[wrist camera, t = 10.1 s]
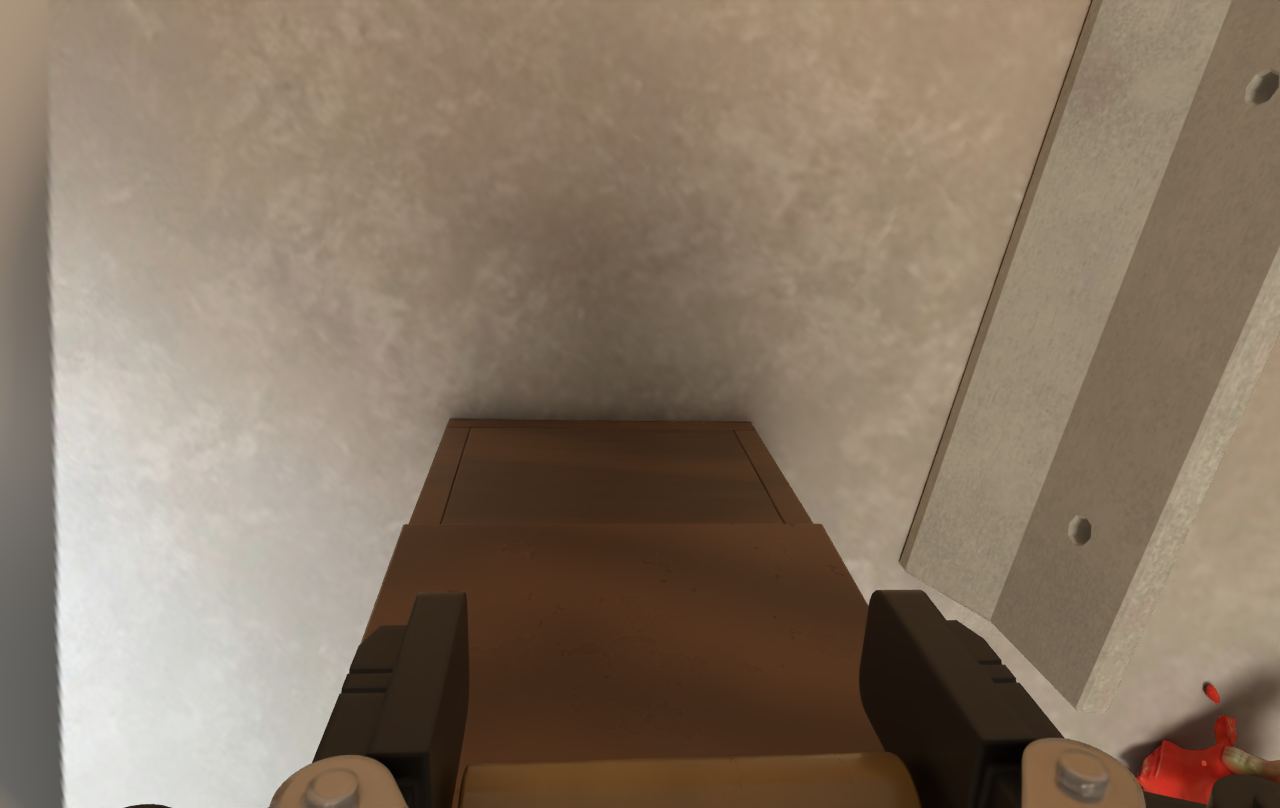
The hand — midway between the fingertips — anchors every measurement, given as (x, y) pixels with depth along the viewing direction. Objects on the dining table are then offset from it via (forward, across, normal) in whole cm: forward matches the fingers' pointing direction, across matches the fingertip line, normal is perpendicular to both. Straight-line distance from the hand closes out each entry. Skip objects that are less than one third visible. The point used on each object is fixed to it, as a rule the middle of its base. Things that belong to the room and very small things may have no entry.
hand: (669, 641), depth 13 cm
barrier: (+23, -20, -2) cm, 30 cm away
